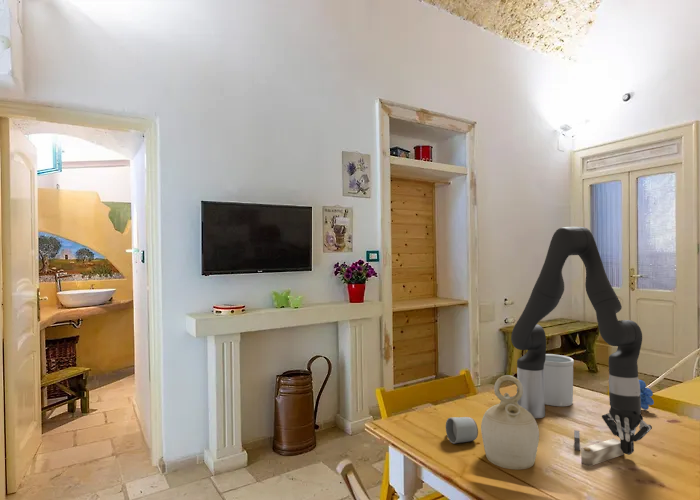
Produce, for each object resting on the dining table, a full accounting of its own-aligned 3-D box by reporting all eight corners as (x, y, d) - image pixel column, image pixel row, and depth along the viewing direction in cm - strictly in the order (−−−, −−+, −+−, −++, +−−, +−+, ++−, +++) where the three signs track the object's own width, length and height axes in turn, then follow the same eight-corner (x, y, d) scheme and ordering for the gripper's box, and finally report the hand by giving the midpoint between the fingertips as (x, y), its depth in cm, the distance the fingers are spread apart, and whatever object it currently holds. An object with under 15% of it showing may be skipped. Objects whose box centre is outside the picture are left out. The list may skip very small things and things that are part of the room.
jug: (534, 482, 113) (532, 385, 113) (475, 468, 121) (473, 377, 122) (543, 459, 126) (541, 372, 126) (489, 447, 134) (487, 366, 135)
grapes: (614, 406, 168) (614, 375, 169) (622, 403, 172) (621, 372, 173) (649, 415, 159) (648, 382, 159) (656, 411, 163) (655, 379, 163)
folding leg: (589, 466, 118) (588, 451, 118) (579, 461, 121) (578, 447, 121) (624, 454, 125) (623, 440, 125) (614, 450, 128) (613, 436, 128)
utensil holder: (576, 398, 179) (575, 355, 179) (573, 409, 166) (572, 363, 166) (537, 393, 186) (536, 352, 187) (532, 403, 174) (531, 359, 174)
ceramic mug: (480, 443, 137) (479, 419, 137) (457, 447, 134) (456, 422, 135) (462, 431, 147) (461, 408, 147) (440, 435, 144) (439, 411, 145)
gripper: (593, 388, 127) (596, 448, 126) (642, 399, 116) (646, 465, 115) (608, 384, 131) (611, 442, 130) (656, 394, 120) (660, 458, 119)
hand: (627, 453), depth 123 cm, fingers closed
